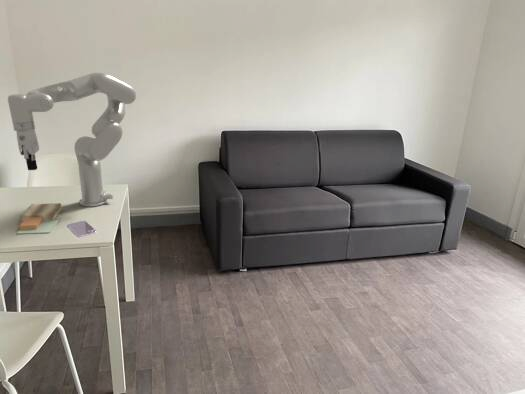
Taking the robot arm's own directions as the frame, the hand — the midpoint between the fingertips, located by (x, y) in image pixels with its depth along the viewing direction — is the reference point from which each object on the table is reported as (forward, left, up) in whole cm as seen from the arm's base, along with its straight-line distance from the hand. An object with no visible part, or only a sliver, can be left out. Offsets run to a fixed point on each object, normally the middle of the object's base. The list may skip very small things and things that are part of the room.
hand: (32, 169), depth 170 cm
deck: (-1, 0, -21) cm, 21 cm away
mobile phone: (-21, +16, -21) cm, 34 cm away
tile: (-1, +12, -20) cm, 24 cm away
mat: (-4, +13, -21) cm, 25 cm away
